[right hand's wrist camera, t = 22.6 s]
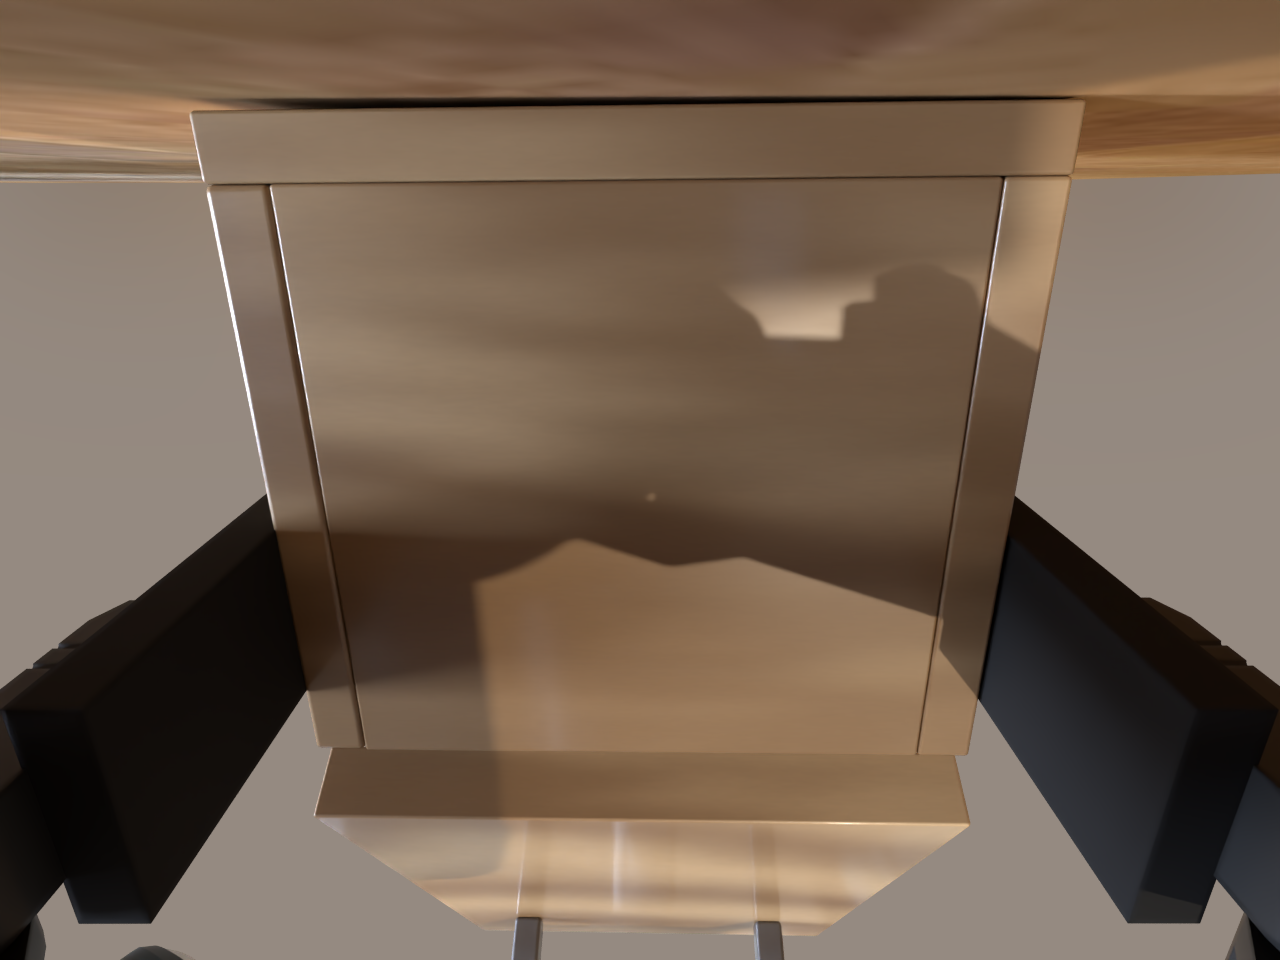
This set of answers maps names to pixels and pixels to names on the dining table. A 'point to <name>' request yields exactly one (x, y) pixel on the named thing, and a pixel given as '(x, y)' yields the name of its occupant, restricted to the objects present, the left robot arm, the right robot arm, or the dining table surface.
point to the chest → (642, 411)
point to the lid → (645, 835)
